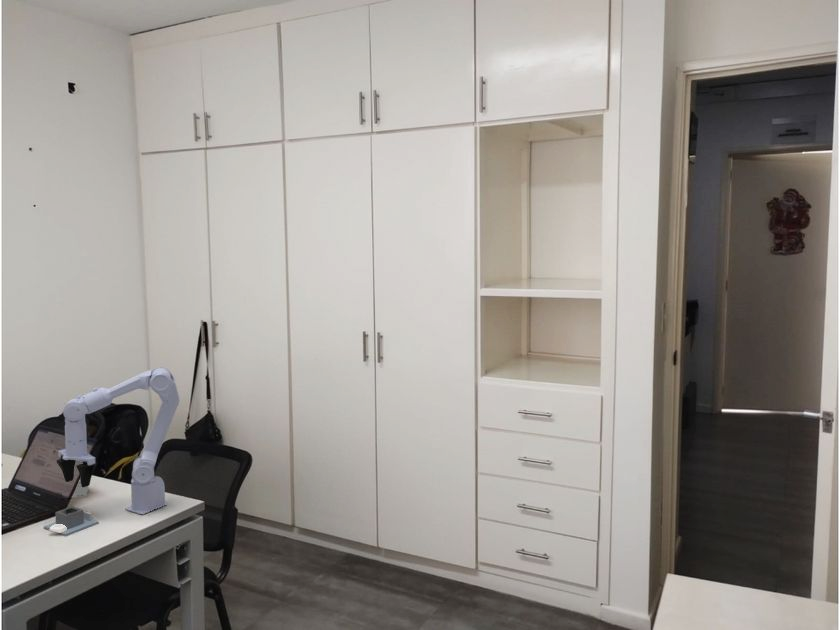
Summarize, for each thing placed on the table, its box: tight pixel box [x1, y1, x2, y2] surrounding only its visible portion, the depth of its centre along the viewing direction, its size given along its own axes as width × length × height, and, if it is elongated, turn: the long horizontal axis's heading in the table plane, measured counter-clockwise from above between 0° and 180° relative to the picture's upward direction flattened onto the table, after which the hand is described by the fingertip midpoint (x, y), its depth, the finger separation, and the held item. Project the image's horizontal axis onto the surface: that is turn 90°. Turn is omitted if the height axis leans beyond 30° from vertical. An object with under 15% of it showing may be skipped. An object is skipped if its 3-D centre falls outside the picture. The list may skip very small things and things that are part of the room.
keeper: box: [43, 509, 100, 537], centre depth 203 cm, size 10×10×4 cm
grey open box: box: [54, 506, 84, 529], centre depth 202 cm, size 5×5×4 cm
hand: (77, 483), depth 209 cm, fingers open, 7 cm apart
